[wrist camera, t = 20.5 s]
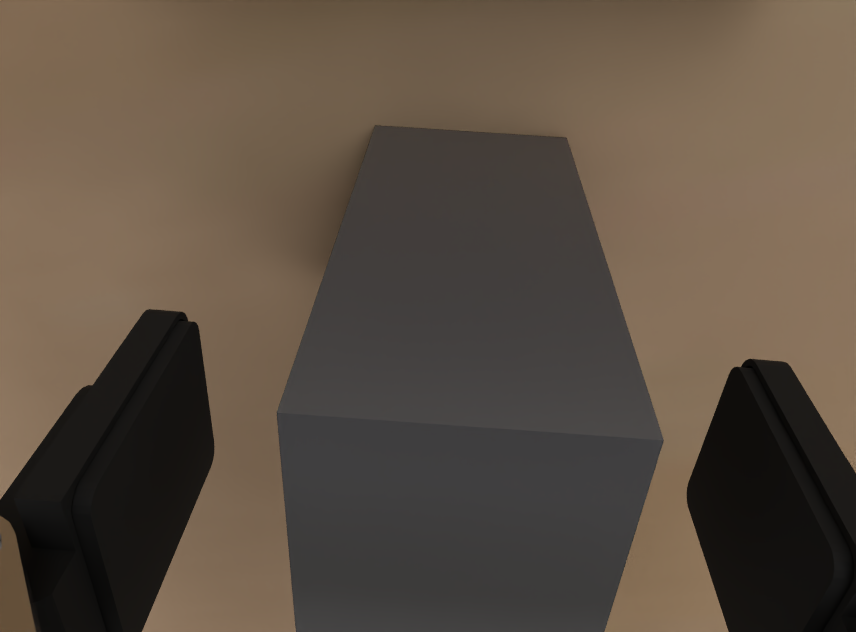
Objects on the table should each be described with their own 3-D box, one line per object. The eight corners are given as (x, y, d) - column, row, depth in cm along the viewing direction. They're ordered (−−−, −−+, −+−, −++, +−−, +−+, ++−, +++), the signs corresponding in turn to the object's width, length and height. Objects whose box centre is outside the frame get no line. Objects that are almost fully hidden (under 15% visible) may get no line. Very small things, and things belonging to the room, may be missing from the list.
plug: (566, 137, 16) (664, 439, 8) (540, 300, 19) (595, 661, 11) (374, 125, 17) (276, 412, 8) (373, 288, 19) (296, 639, 11)
